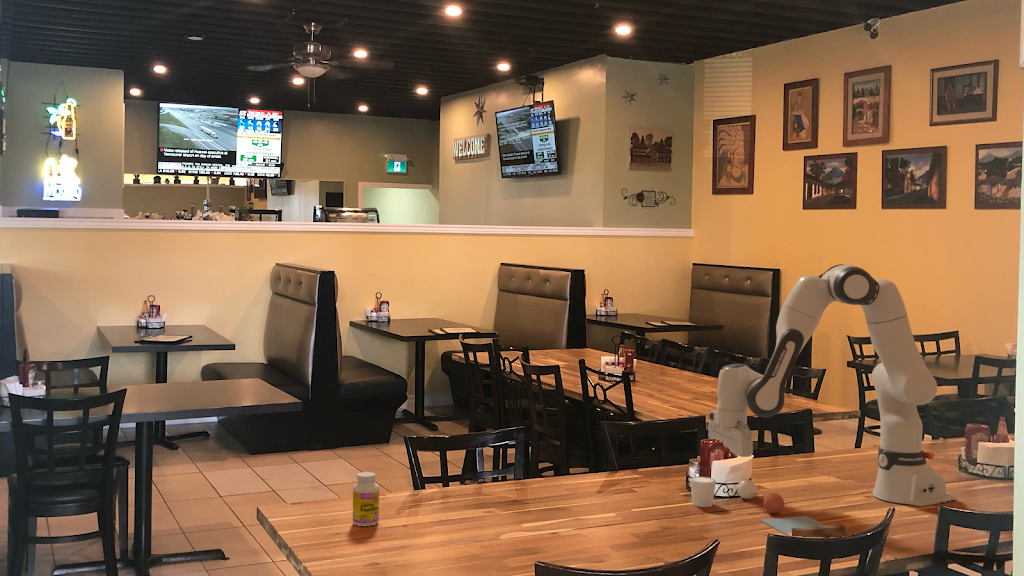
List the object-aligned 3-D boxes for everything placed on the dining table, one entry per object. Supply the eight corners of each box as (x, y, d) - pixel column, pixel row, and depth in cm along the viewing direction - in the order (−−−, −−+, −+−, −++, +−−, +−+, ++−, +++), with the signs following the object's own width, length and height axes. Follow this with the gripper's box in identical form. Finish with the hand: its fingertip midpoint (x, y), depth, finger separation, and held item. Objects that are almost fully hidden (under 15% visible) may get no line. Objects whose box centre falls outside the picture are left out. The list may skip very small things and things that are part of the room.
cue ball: (750, 495, 263) (750, 477, 263) (760, 500, 258) (760, 481, 258) (733, 496, 262) (734, 478, 262) (743, 501, 257) (743, 483, 256)
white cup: (715, 508, 250) (715, 483, 250) (689, 506, 251) (690, 481, 251) (714, 501, 257) (715, 477, 256) (690, 499, 258) (690, 475, 258)
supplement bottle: (357, 529, 229) (357, 478, 228) (349, 521, 235) (349, 472, 234) (382, 525, 232) (382, 475, 231) (374, 518, 238) (374, 469, 237)
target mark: (806, 516, 244) (806, 515, 244) (838, 533, 230) (838, 532, 230) (760, 520, 240) (760, 519, 240) (790, 537, 226) (790, 536, 226)
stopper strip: (840, 533, 230) (840, 524, 230) (845, 536, 228) (845, 526, 228) (791, 538, 226) (791, 528, 226) (795, 540, 224) (796, 530, 224)
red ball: (776, 509, 250) (777, 490, 250) (787, 515, 245) (788, 495, 244) (759, 510, 248) (759, 491, 248) (770, 516, 243) (770, 496, 243)
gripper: (759, 425, 259) (757, 473, 260) (724, 411, 278) (722, 456, 279) (739, 426, 257) (737, 474, 258) (705, 412, 277) (703, 457, 278)
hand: (729, 464), depth 269 cm, fingers closed
